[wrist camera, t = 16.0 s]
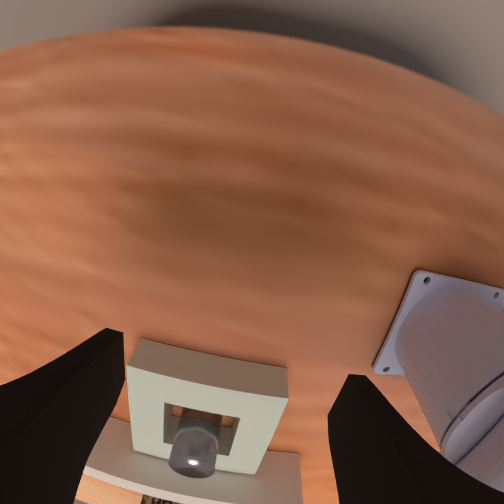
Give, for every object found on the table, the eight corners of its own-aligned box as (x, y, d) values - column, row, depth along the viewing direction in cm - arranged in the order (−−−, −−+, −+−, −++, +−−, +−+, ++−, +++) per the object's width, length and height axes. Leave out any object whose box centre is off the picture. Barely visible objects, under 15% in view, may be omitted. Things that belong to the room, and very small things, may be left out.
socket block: (286, 367, 21) (288, 398, 18) (255, 447, 24) (254, 474, 21) (141, 338, 20) (126, 365, 17) (143, 424, 24) (133, 450, 21)
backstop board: (299, 453, 24) (303, 507, 19) (292, 463, 25) (295, 516, 19) (83, 406, 24) (57, 453, 18) (86, 419, 24) (62, 464, 19)
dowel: (225, 395, 22) (215, 460, 16) (222, 419, 23) (213, 481, 17) (184, 389, 22) (166, 452, 16) (185, 413, 23) (169, 473, 17)
